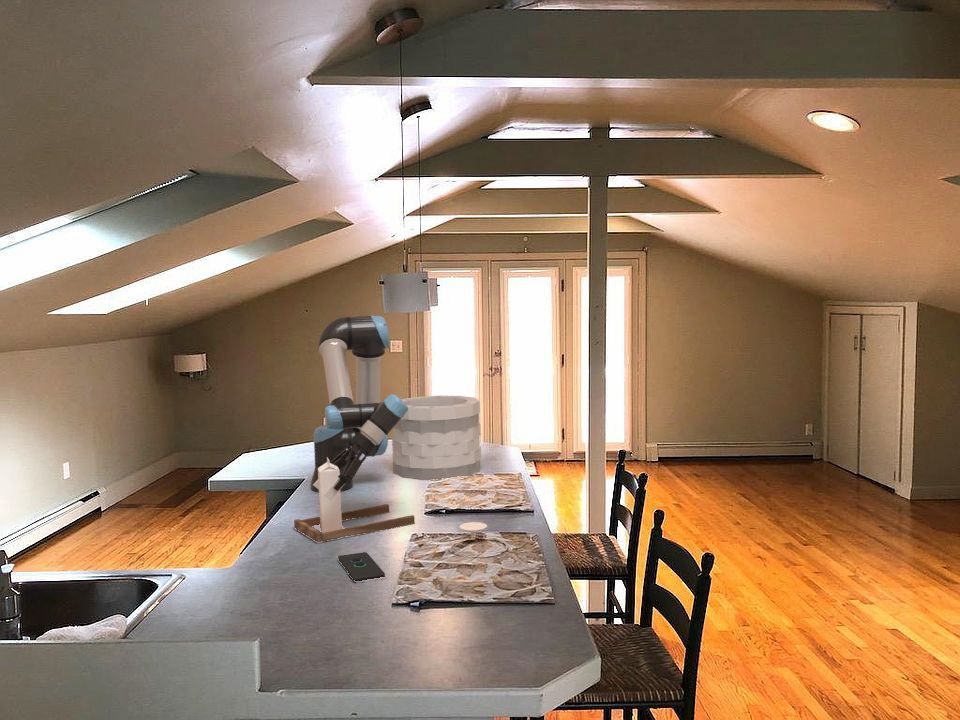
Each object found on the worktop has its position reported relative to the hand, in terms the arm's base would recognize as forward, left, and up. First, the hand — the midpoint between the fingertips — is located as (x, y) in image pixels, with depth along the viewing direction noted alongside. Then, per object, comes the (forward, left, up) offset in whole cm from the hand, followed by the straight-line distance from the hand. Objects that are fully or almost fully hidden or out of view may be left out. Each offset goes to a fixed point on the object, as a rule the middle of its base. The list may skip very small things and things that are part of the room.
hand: (321, 492), depth 256 cm
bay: (0, +10, -12) cm, 16 cm away
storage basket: (-51, +70, -12) cm, 87 cm away
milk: (+1, +2, -12) cm, 12 cm away
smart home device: (+37, -5, -13) cm, 39 cm away
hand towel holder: (+40, +29, -13) cm, 51 cm away
